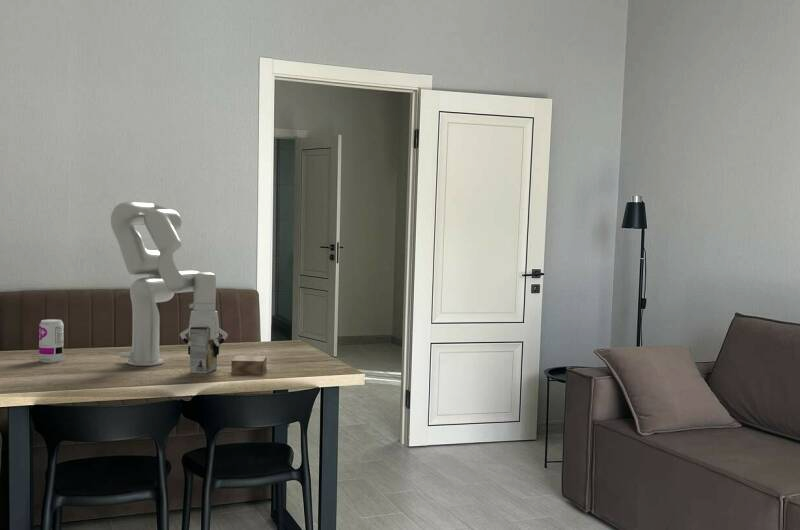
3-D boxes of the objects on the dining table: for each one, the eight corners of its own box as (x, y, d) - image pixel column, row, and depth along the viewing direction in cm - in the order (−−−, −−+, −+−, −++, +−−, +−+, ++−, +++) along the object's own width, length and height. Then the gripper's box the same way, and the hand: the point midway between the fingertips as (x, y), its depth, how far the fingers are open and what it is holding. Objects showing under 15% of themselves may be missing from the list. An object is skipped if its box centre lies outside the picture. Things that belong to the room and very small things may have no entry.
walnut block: (231, 374, 284) (231, 360, 284) (235, 369, 295) (236, 355, 295) (262, 375, 285) (263, 361, 285) (266, 369, 296) (266, 356, 296)
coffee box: (200, 368, 293) (201, 324, 292) (217, 369, 292) (218, 325, 291) (189, 372, 284) (190, 327, 283) (206, 374, 283) (207, 328, 282)
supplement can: (42, 363, 292) (43, 322, 291) (36, 360, 298) (36, 319, 297) (66, 361, 297) (66, 321, 296) (59, 358, 303) (59, 318, 303)
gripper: (177, 308, 281) (177, 358, 282) (229, 309, 284) (228, 358, 285) (180, 305, 289) (179, 354, 290) (230, 306, 291) (229, 355, 292)
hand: (203, 356), depth 287 cm, fingers closed on coffee box, 7 cm apart
